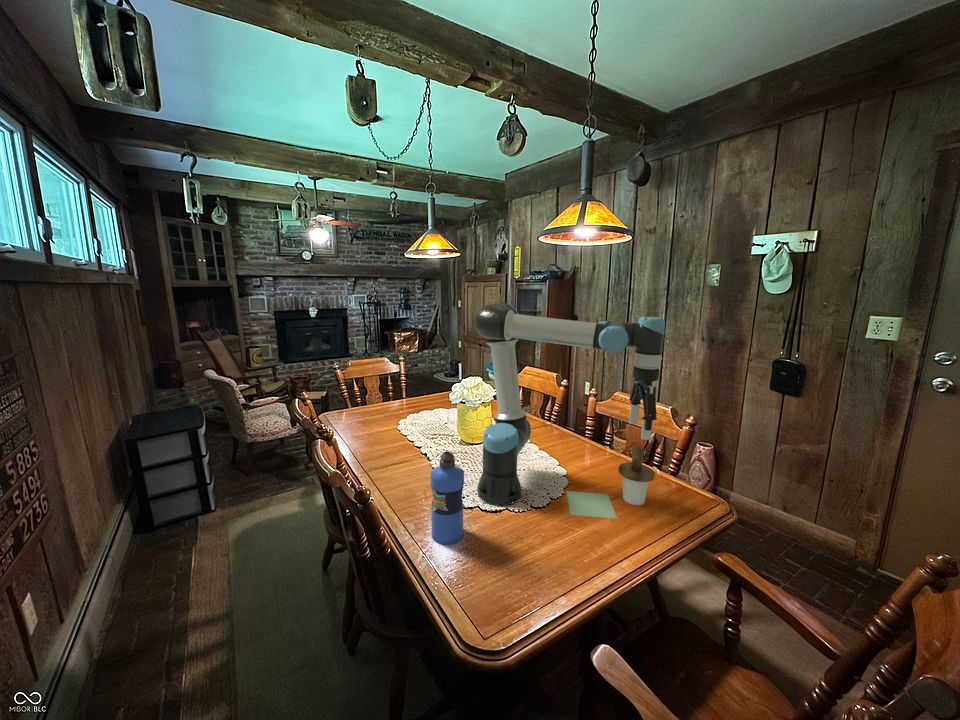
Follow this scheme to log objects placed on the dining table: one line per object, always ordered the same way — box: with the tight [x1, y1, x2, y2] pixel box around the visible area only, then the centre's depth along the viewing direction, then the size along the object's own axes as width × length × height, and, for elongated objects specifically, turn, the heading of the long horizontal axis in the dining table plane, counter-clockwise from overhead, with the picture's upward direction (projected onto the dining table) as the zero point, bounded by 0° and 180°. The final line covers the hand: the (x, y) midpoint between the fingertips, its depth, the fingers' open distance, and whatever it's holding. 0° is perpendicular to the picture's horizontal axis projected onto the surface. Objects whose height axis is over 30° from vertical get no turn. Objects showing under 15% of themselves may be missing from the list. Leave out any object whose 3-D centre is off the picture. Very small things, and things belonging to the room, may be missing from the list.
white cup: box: [622, 476, 649, 506], centre depth 124 cm, size 8×8×10 cm
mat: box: [565, 490, 618, 520], centre depth 122 cm, size 14×14×1 cm
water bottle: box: [429, 450, 465, 546], centre depth 104 cm, size 9×9×25 cm
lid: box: [617, 445, 656, 483], centre depth 122 cm, size 11×11×9 cm
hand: (639, 431), depth 120 cm, fingers open, 13 cm apart
